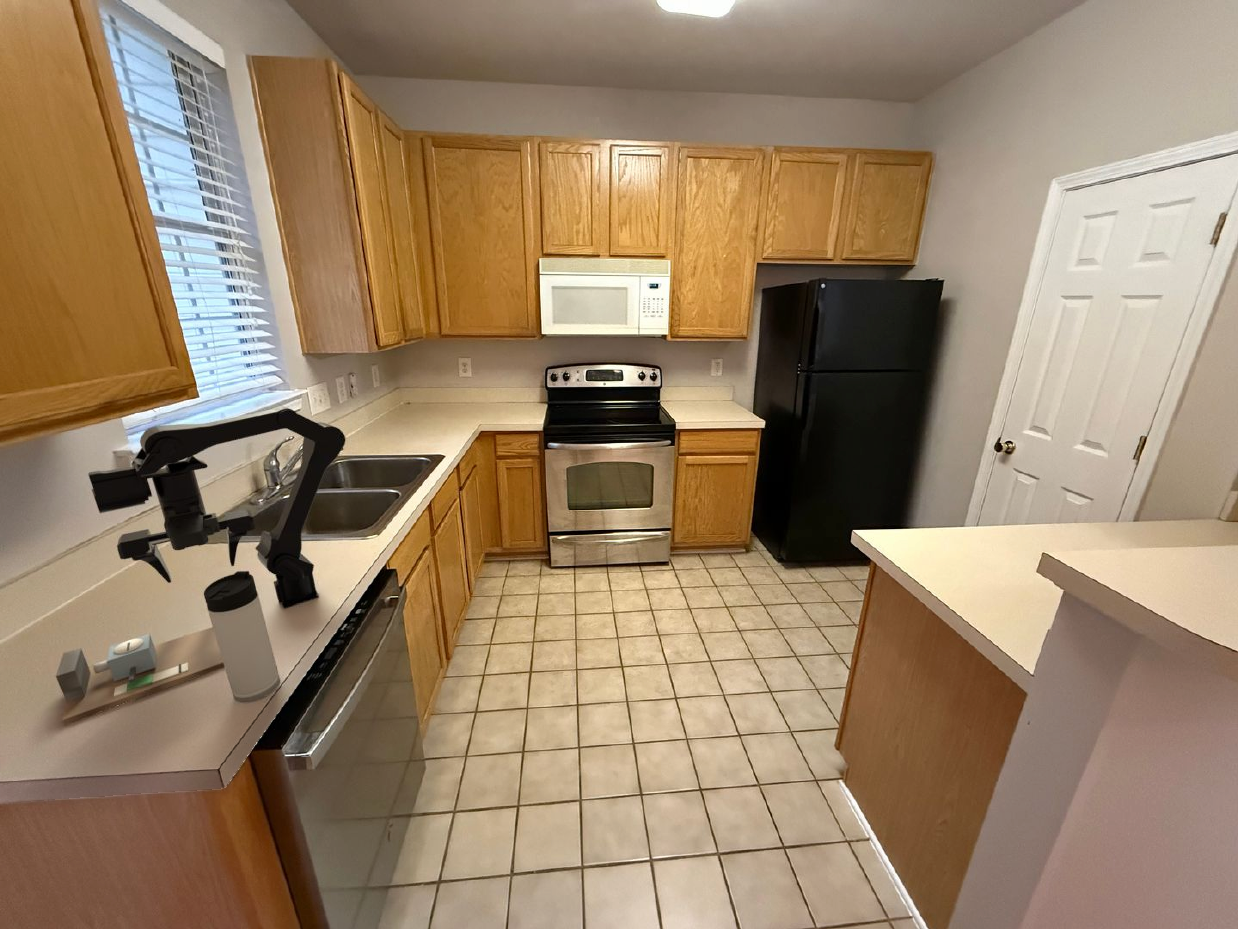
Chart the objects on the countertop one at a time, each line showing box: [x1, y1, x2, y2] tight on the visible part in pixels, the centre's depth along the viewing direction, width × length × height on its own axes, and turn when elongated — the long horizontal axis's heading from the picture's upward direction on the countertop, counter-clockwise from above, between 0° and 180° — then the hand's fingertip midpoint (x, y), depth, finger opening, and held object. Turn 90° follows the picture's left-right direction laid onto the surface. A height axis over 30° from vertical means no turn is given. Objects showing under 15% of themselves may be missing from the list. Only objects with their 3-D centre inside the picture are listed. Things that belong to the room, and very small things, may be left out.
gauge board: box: [55, 626, 225, 726], centre depth 85 cm, size 22×14×6 cm, turn 131°
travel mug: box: [203, 570, 281, 704], centre depth 78 cm, size 6×7×20 cm
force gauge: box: [92, 633, 156, 683], centre depth 81 cm, size 7×9×4 cm
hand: (202, 573), depth 93 cm, fingers open, 9 cm apart
